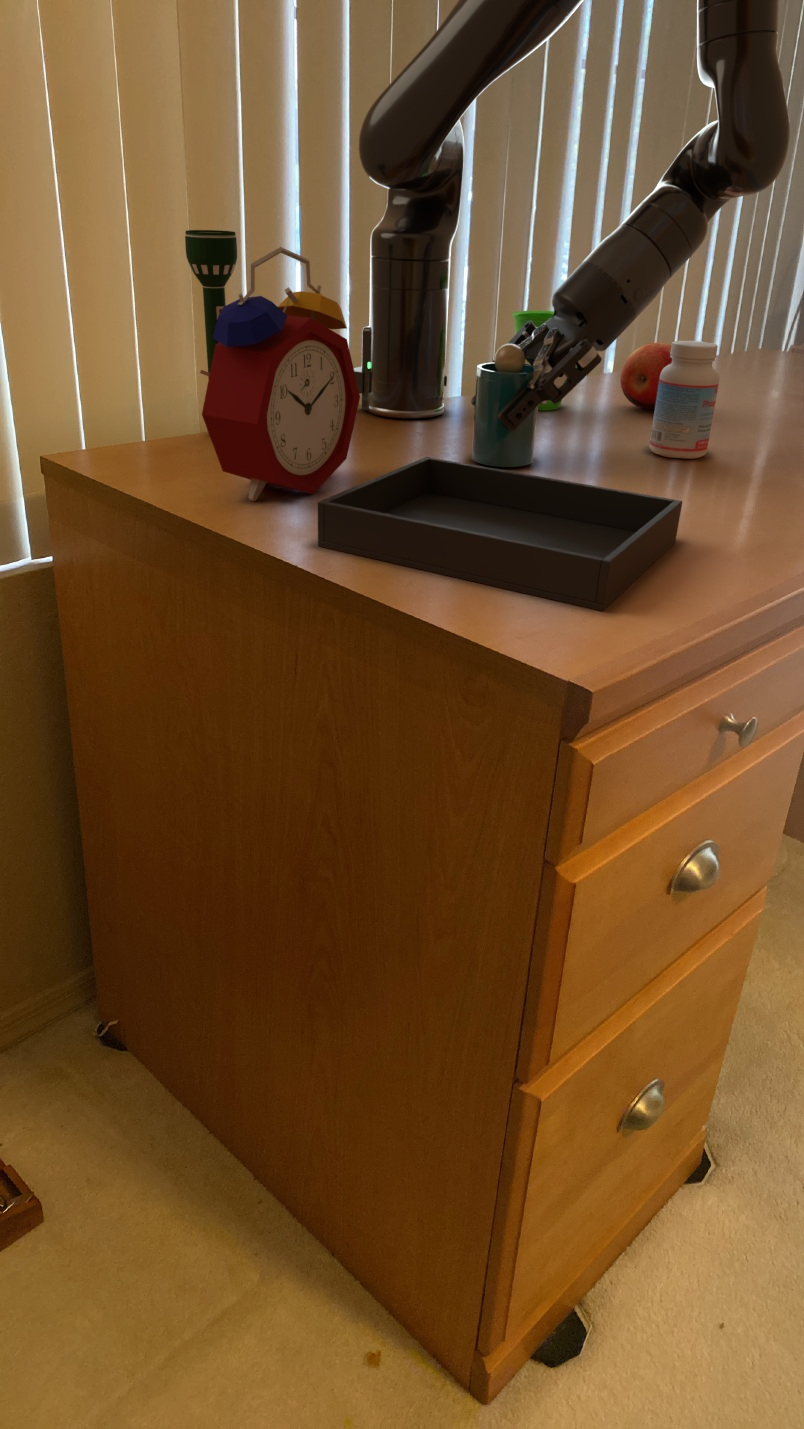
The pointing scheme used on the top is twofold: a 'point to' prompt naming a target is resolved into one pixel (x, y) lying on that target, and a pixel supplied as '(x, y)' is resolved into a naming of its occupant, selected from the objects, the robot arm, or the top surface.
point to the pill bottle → (685, 401)
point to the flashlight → (211, 273)
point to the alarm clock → (281, 388)
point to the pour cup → (488, 432)
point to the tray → (503, 529)
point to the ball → (509, 359)
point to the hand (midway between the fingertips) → (490, 416)
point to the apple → (644, 373)
